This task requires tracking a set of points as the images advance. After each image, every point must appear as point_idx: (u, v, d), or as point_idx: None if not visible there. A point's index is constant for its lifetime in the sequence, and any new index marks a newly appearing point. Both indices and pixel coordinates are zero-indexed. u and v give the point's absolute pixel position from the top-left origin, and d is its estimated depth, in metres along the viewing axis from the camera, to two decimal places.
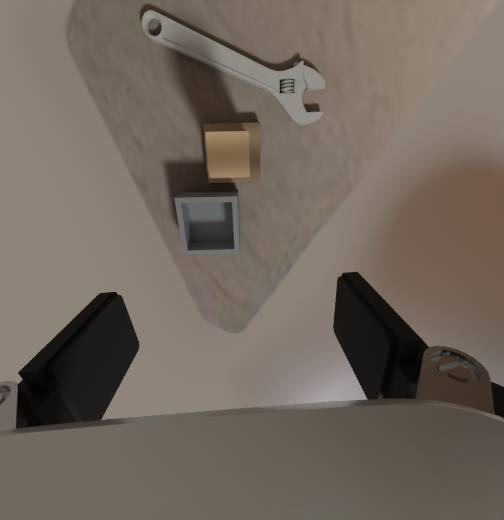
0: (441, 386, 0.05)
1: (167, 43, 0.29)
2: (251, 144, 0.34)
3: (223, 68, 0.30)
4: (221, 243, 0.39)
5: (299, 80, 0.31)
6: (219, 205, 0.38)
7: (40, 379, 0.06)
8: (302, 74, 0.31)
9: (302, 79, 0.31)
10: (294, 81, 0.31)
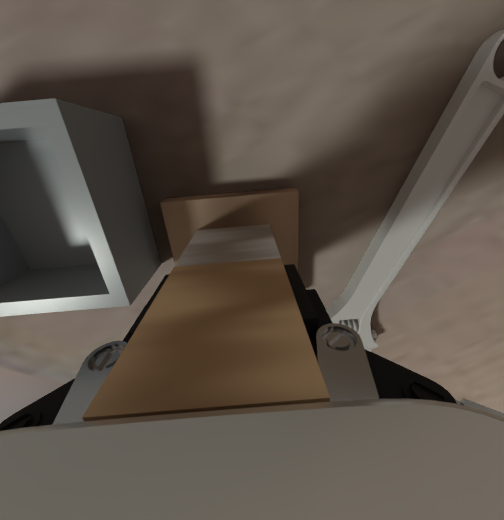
0: (333, 360, 0.06)
1: (470, 93, 0.12)
2: None
3: (394, 224, 0.15)
4: None
5: None
6: None
7: None
8: None
9: None
10: None
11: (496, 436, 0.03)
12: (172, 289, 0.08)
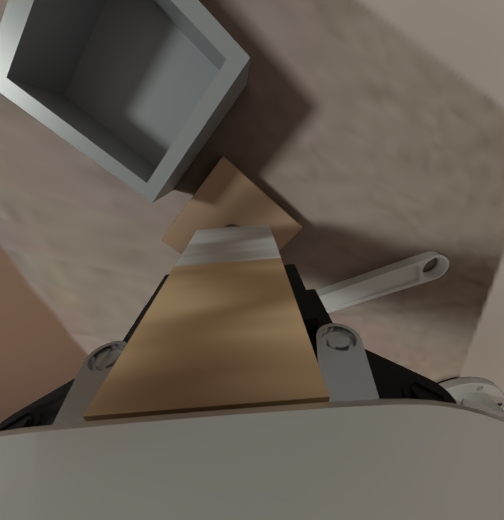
0: (334, 360, 0.06)
1: (411, 265, 0.21)
2: None
3: (333, 292, 0.22)
4: (66, 52, 0.13)
5: None
6: (168, 136, 0.16)
7: None
8: None
9: None
10: None
11: (496, 436, 0.03)
12: (172, 289, 0.08)
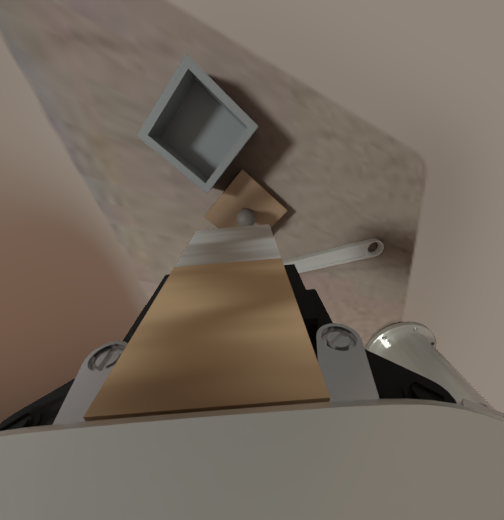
0: (334, 360, 0.06)
1: (361, 245, 0.35)
2: None
3: (312, 257, 0.35)
4: (167, 119, 0.26)
5: None
6: (212, 158, 0.29)
7: None
8: None
9: None
10: None
11: (496, 436, 0.03)
12: (172, 289, 0.08)
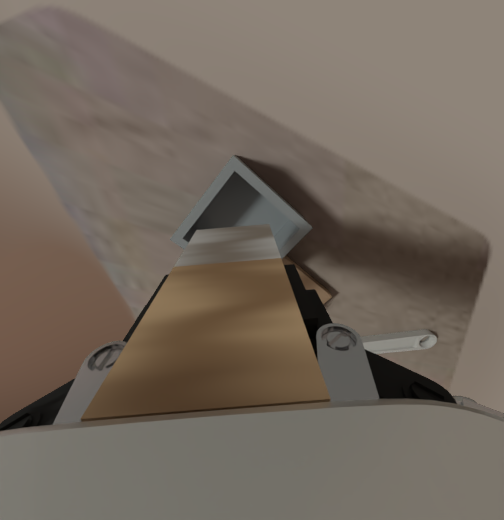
0: (333, 360, 0.06)
1: (413, 337, 0.32)
2: None
3: None
4: None
5: None
6: None
7: None
8: None
9: None
10: None
11: (496, 436, 0.03)
12: (172, 289, 0.08)
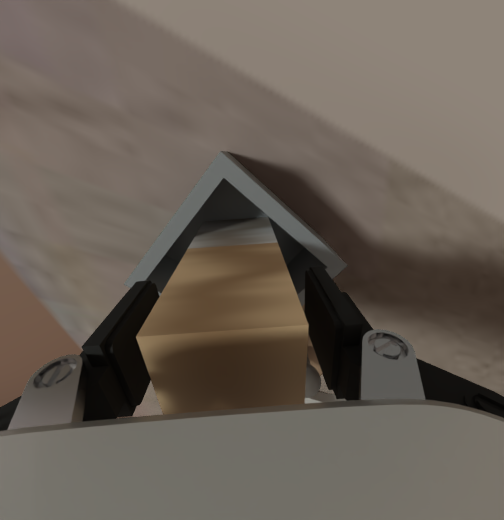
0: (380, 367, 0.06)
1: None
2: None
3: None
4: None
5: None
6: None
7: (100, 353, 0.07)
8: None
9: None
10: None
11: (496, 436, 0.03)
12: (188, 264, 0.10)
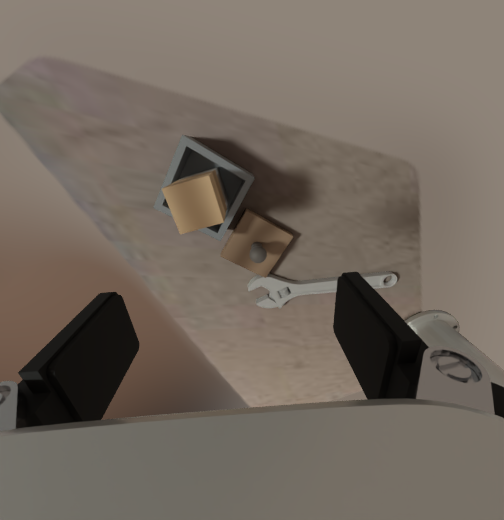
0: (441, 386, 0.05)
1: (378, 276, 0.39)
2: (254, 264, 0.36)
3: (335, 281, 0.39)
4: None
5: (277, 298, 0.40)
6: None
7: (40, 379, 0.06)
8: (276, 302, 0.40)
9: (274, 300, 0.40)
10: (279, 296, 0.40)
11: (496, 436, 0.03)
12: (177, 181, 0.24)
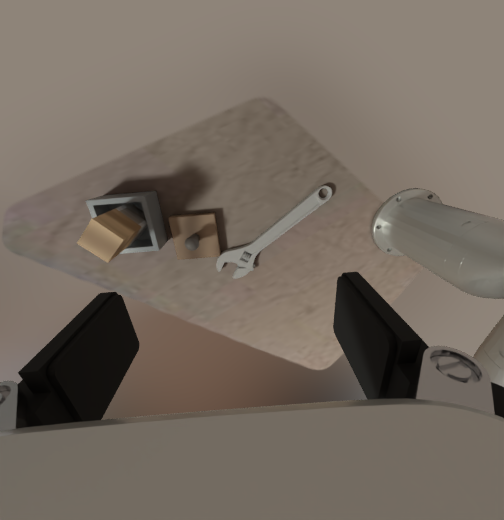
0: (441, 386, 0.05)
1: (311, 196, 0.40)
2: (204, 251, 0.43)
3: (277, 223, 0.42)
4: None
5: (244, 264, 0.45)
6: None
7: (40, 379, 0.06)
8: (246, 267, 0.45)
9: (244, 266, 0.45)
10: (245, 261, 0.45)
11: (496, 436, 0.03)
12: None
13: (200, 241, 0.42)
